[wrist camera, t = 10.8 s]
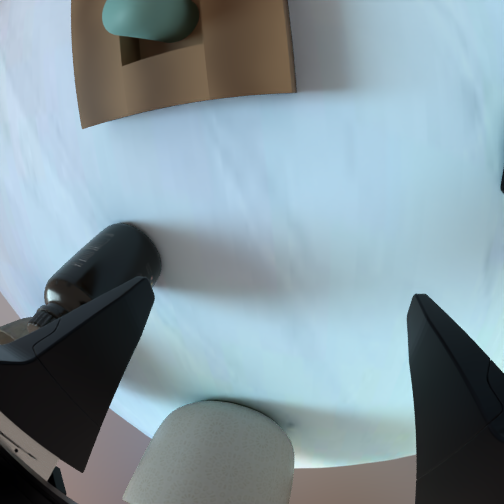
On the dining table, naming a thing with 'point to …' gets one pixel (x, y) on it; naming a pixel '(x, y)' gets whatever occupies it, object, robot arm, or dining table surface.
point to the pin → (151, 19)
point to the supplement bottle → (98, 271)
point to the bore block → (181, 59)
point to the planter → (215, 459)
